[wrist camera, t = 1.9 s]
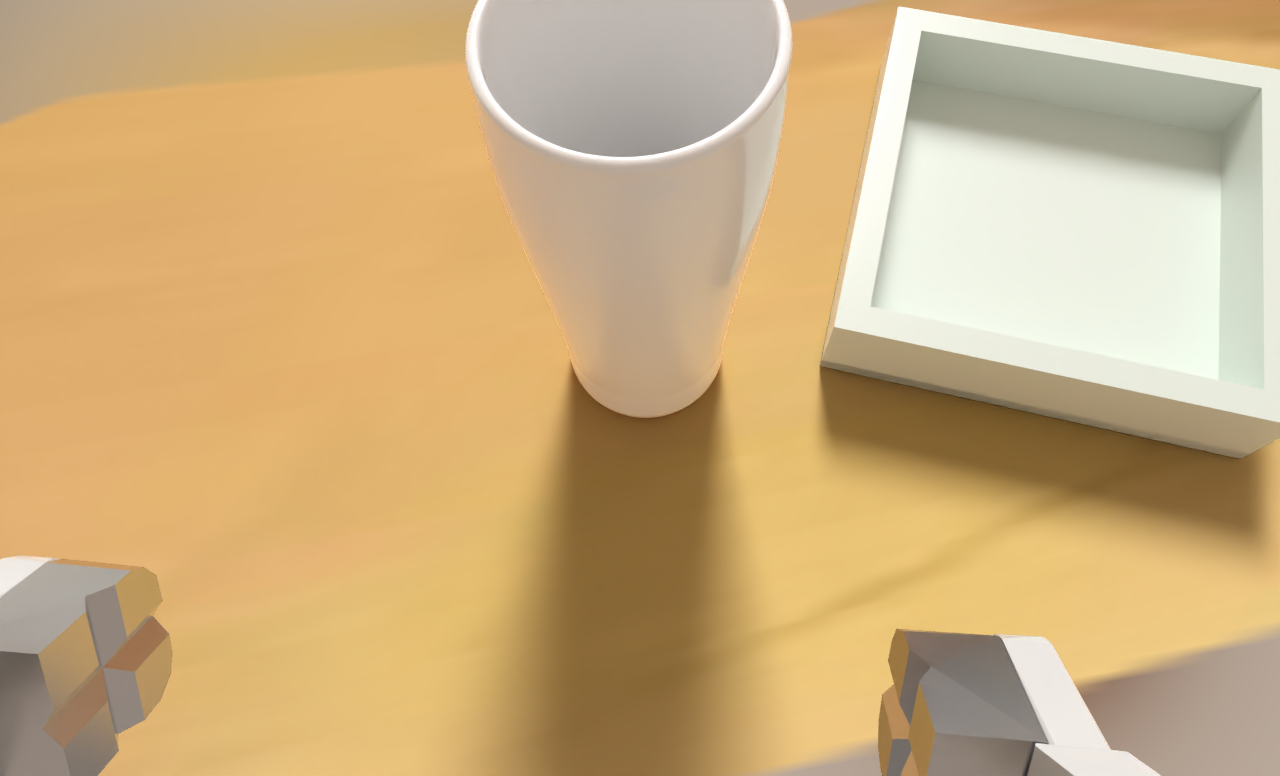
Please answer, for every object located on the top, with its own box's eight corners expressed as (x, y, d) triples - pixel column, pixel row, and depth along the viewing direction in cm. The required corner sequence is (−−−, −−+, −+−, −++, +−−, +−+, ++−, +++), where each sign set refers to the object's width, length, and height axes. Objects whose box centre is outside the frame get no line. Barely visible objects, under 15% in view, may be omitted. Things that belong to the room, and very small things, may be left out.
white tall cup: (541, 287, 33) (445, -62, 19) (721, 257, 33) (756, -109, 19) (565, 459, 30) (475, 197, 16) (761, 425, 30) (836, 139, 17)
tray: (819, 366, 31) (834, 326, 28) (881, 64, 36) (898, 6, 34) (1240, 458, 29) (1300, 426, 26) (1241, 127, 34) (1291, 71, 32)
